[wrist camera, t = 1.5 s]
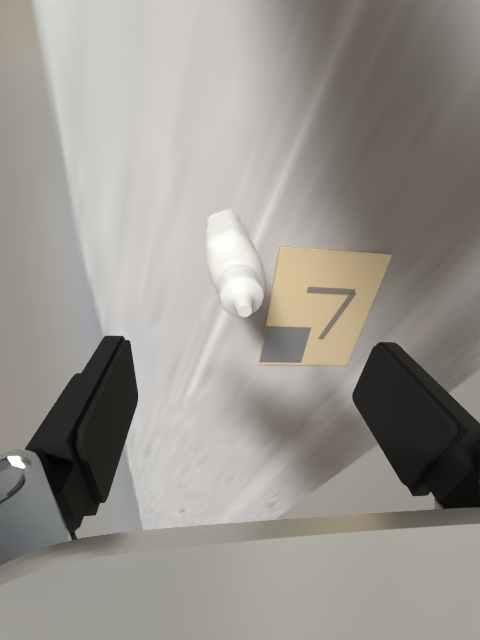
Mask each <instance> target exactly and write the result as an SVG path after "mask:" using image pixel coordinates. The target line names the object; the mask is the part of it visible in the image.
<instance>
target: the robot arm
mask: <svg viewBox="0 0 480 640" xmlns="http://www.w3.org/2000/svg"><path fill="white" fill-rule="evenodd" d="M352 398H353V402H354V404H355V405H356V407H357V409H358V410H359V412H360V414H361V415H362V417H363V419H364V420H365V422H366V424H367V425H368V427H369V429H370V430H371V432H372V434H373V435H374V437H375V439H376V440H377V442H378V444H379V445H380V447H381V449H382V450H383V452H384V454H385V455H386V457H387V459H388V460H389V462H390V464H391V465H392V467H393V469H394V470H395V472H396V474H397V475H398V477H399V479H400V480H401V482H402V483H403V484H404V485H406V486H407V487H408V489H409V491H410V492H411V494H412V495H413V496H425V495H428V494H429V493H430V492H432V494H433V495H434V497H435V503H434V510H421V511H405V512H404V511H403V512H387V513H372V514H358V515H343V516H328V517H313V518H299V519H284V520H270V521H256V522H242V523H229V524H215V525H202V526H188V527H176V528H165V529H155V530H144V531H133V532H122V533H114V534H107V535H100V536H93V537H86V538H81V539H79V538H78V536H77V533H76V531H75V530H76V529H77V528H79V527H80V525H81V522H82V520H83V517H84V516H92V515H96V513H97V510H98V507H99V504H100V503H104V502H105V501H106V500H107V498H108V495H109V492H110V488H111V485H112V482H113V478H114V476H115V473H116V469H117V466H118V463H119V460H120V457H121V453H122V450H123V447H124V444H125V441H126V438H127V434H128V431H129V428H130V425H131V422H132V419H133V415H134V412H135V409H136V406H137V402H138V390H137V384H136V377H135V371H134V364H133V357H132V351H131V344H130V341H129V340H125V338H124V337H123V336H105V337H104V338H103V340H102V341H101V343H100V344H99V346H98V348H97V349H96V351H95V352H94V354H93V356H92V357H91V359H90V360H89V362H88V363H87V365H86V367H85V368H84V370H83V371H82V373H77V374H75V375H74V376H73V377H72V378H71V380H70V382H69V383H68V385H67V386H66V387H65V389H64V390H63V392H62V394H61V395H60V397H59V398H58V400H57V401H56V403H55V404H54V406H53V407H52V409H51V410H50V412H49V413H48V415H47V416H46V418H45V419H44V421H43V422H42V424H41V425H40V427H39V428H38V430H37V432H36V433H35V434H34V436H33V437H32V439H31V441H30V442H29V444H28V445H27V447H26V448H25V450H14V451H8V452H5V453H3V454H0V640H480V423H479V422H478V421H477V420H476V419H474V418H473V417H472V416H471V415H470V414H469V413H468V412H467V411H466V410H465V409H464V408H463V407H462V406H461V405H460V404H459V403H458V402H457V401H456V400H455V399H454V398H453V397H452V396H451V395H450V394H449V393H448V392H447V391H445V390H444V389H443V388H442V387H441V386H440V385H439V384H438V383H437V382H436V381H435V380H434V379H433V378H432V377H431V376H430V375H429V374H428V373H427V372H426V371H425V370H424V369H423V368H422V367H421V366H420V365H419V364H418V363H416V362H415V361H414V360H413V359H412V358H411V357H410V356H409V355H408V354H407V353H406V352H405V351H404V350H403V349H402V348H401V347H400V346H399V345H398V344H396V343H393V342H380V343H378V344H377V345H376V346H374V347H373V349H372V351H371V353H370V355H369V358H368V360H367V362H366V364H365V367H364V369H363V371H362V374H361V376H360V378H359V380H358V383H357V385H356V387H355V389H354V392H353V395H352Z"/></svg>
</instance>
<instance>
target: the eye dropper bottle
mask: <svg viewBox="0 0 480 640" xmlns="http://www.w3.org/2000/svg"><path fill="white" fill-rule="evenodd" d="M206 261H207V267H208V272H209V275H210V278H211V281H212V284H213V286H214V288H215V289H216V291H217V293H218V294H219V298H220V303H221V306H222V307H223V308H224V309H225V311H227V312H228V313H230V314H232V315H234V316H238V317H239V316H240V317H248V316H249V315H250V314H252V313H254V312H256V311H257V310H258V309H259V308H260V306H261V304H262V302H263V300H264V294H265V276H264V271H263V267H262V264H261V261H260V258H259V256H258V254H257V252H256V249H255V247H254V245H253V243H252V241H251V239H250V237H249V234H248V232H247V230H246V228H245V226H244V225H243V223H242V221H241V220H240V219H239V217H238V216H237V215H236V214H235V213H234V212H233V211H232V210H230V209H225V210H223V211H220V212H217V213H215V214H213V215H211V216H210V217H208V220H207V231H206Z"/></svg>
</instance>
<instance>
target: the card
mask: <svg viewBox="0 0 480 640" xmlns="http://www.w3.org/2000/svg"><path fill="white" fill-rule="evenodd" d="M391 258H392V255H391V254H382V253H368V252H354V251H340V250H325V249H311V248H297V247H283V246H280V247H279V253H278V258H277V264H276V270H275V275H274V281H273V287H272V292H271V298H270V303H269V309H268V315H267V320H266V326H265V332H264V337H263V343H262V349H261V354H260V360H259V365H333V366H346V365H347V363H348V361H349V358H350V356H351V354H352V351H353V349H354V346H355V344H356V342H357V339H358V337H359V334H360V332H361V330H362V327H363V325H364V322H365V320H366V318H367V315H368V313H369V310H370V308H371V306H372V303H373V301H374V298H375V296H376V294H377V291H378V289H379V286H380V284H381V282H382V279H383V277H384V274H385V272H386V270H387V267H388V265H389V262H390V260H391Z"/></svg>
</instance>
